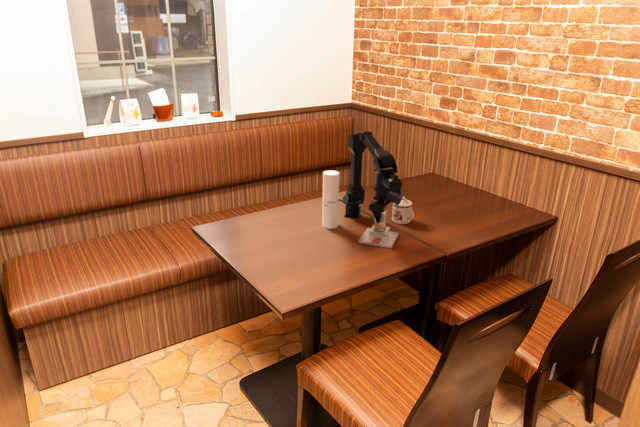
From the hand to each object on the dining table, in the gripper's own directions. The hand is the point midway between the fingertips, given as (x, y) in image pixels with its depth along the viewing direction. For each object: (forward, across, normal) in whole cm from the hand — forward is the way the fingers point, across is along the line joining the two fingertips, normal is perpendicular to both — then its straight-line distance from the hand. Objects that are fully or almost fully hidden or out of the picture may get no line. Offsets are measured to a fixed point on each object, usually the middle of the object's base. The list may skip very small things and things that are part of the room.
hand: (380, 219), depth 194 cm
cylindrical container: (+9, +5, +24) cm, 26 cm away
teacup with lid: (+9, +22, -6) cm, 25 cm away
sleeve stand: (+9, 0, 0) cm, 9 cm away
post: (+4, 0, 0) cm, 4 cm away
